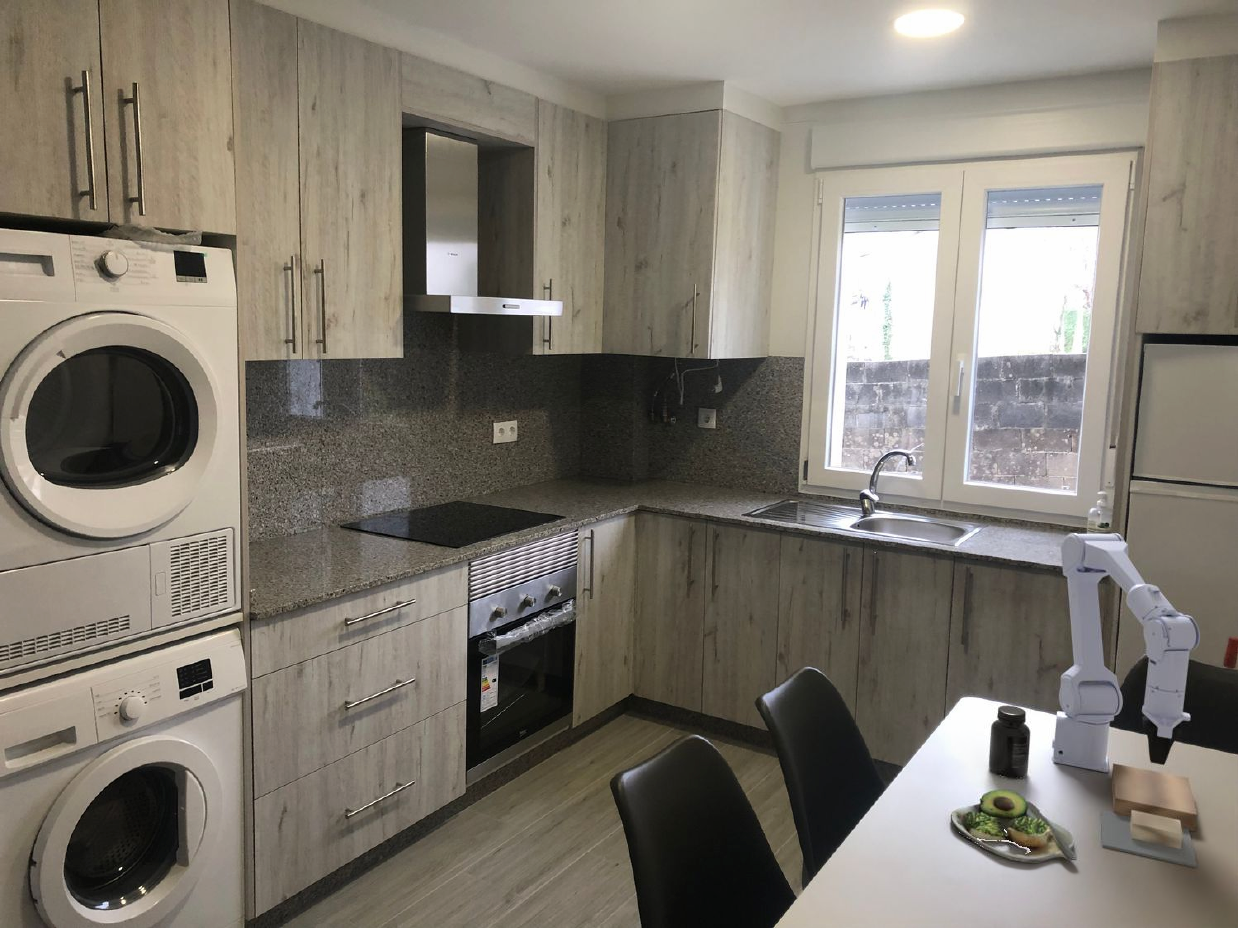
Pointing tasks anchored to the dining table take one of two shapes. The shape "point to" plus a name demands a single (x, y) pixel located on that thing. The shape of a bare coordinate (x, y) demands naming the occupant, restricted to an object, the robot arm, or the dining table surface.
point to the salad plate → (1014, 827)
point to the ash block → (1156, 829)
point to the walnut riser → (1153, 794)
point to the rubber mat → (1119, 838)
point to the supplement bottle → (1009, 743)
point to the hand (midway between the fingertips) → (1157, 762)
